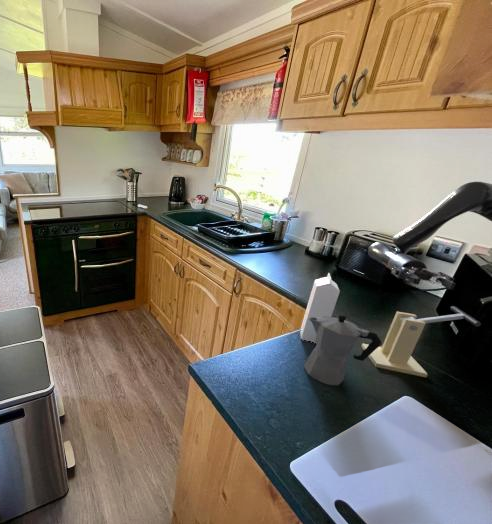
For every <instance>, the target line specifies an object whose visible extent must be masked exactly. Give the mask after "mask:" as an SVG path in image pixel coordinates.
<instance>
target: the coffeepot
mask: <svg viewBox="0 0 492 524" xmlns="http://www.w3.org/2000/svg"><path fill="white" fill-rule="evenodd" d="M346 319H348V316H346V315H344V314H341V313H340V314H338V316H337V317H336V316H332V317H329V316H323V317H322V318H319V317H311V318H310V319H309V320H310V321H311V322H312V324H313V326H314V329H315V332H316V345H315V347H314V348H313V350H312V351H311V353H310V355H309V356H308V358H307V360H306V361H305V363H304V364H303V367H304V369H305V372H306V373H307V374H308V375H309V376H310V377H311V378H312V379H314V380H315V381H317V382H319V383H322V384H323V385H327V386H339V385H340V384H341V383H342V382H343V381H344V380H345V373H346V364H347V358H346V357H347V355H348V354H349V353H350V352H351V351H352V349H353V348H354V346H355V345H356V344H357V343H356V342H357V341H358V340H359V338H361V339H368V340H371V342H370V343H369V344H368V347H367V348H366V349H365V350H362V352H361V354H360V355H356V354H353V359H354V360H358V361H365V360H366V359H367V358H369V357H368V356H369V355H370V354H371V353H372V352H373V351H374V350H376V349H377V348H378V347H381V346H382V340H381V338H380V337H379V335H378V334H377V333H376V332H374V331H373V332H372V331H368V330H367V329H364V328H359V327H358V326H357V325H356V324H355V323H353V322H351V321H348V320H346Z"/></svg>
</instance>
